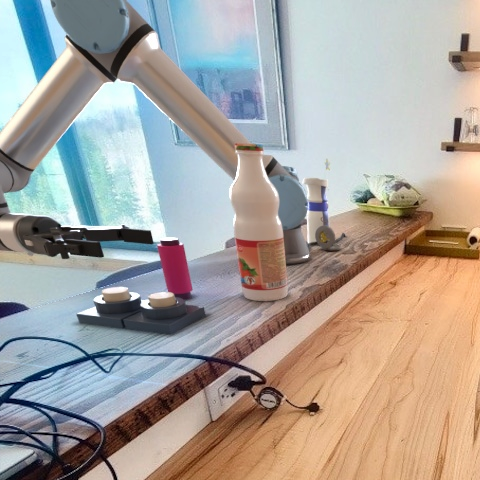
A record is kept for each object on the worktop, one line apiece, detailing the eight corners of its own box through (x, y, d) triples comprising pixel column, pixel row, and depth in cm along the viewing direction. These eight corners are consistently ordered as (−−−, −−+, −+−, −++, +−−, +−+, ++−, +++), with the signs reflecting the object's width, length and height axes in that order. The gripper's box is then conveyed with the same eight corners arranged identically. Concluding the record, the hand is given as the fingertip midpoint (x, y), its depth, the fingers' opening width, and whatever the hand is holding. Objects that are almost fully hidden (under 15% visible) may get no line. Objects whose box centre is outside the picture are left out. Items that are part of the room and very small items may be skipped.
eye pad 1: (116, 295, 77) (113, 285, 76) (135, 297, 77) (133, 288, 76) (98, 301, 74) (95, 292, 73) (119, 304, 73) (116, 294, 72)
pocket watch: (340, 247, 139) (339, 214, 134) (343, 252, 132) (342, 218, 127) (314, 247, 137) (313, 213, 132) (316, 252, 130) (315, 217, 125)
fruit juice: (287, 302, 88) (273, 145, 74) (240, 302, 86) (216, 142, 72) (289, 289, 96) (277, 145, 82) (246, 289, 94) (225, 142, 80)
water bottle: (317, 239, 149) (313, 157, 136) (336, 242, 145) (334, 158, 132) (300, 242, 142) (295, 156, 130) (320, 246, 139) (316, 158, 126)
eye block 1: (122, 305, 82) (117, 287, 80) (162, 310, 80) (157, 292, 79) (79, 323, 73) (72, 303, 71) (123, 328, 72) (117, 308, 70)
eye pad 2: (160, 300, 76) (158, 290, 75) (181, 302, 75) (179, 293, 74) (145, 307, 73) (142, 297, 72) (166, 309, 72) (164, 299, 71)
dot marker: (178, 293, 90) (166, 236, 84) (198, 295, 89) (187, 237, 83) (164, 299, 86) (150, 239, 80) (185, 302, 85) (172, 242, 79)
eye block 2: (164, 310, 80) (160, 292, 79) (205, 315, 79) (202, 297, 77) (125, 329, 72) (119, 309, 70) (171, 334, 71) (166, 314, 69)
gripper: (90, 243, 99) (172, 250, 96) (-20, 267, 78) (81, 278, 75) (79, 208, 95) (164, 214, 92) (-40, 223, 74) (66, 233, 71)
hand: (127, 243), depth 84 cm, fingers open, 13 cm apart
